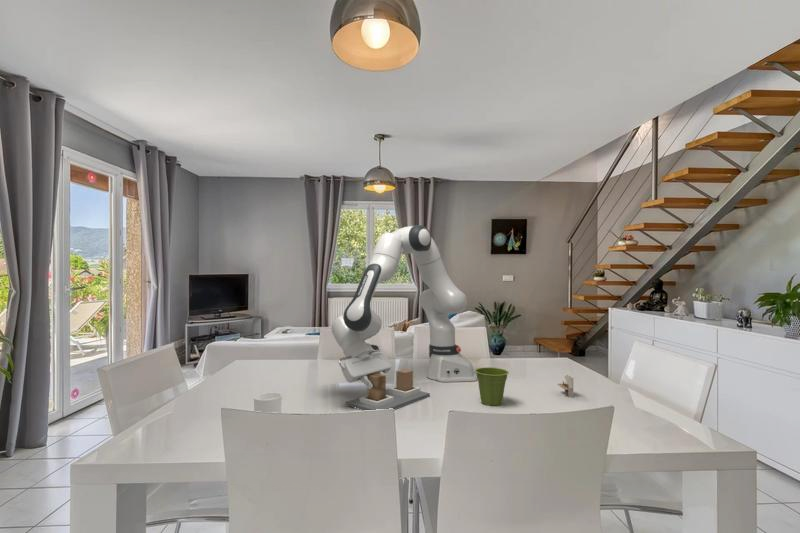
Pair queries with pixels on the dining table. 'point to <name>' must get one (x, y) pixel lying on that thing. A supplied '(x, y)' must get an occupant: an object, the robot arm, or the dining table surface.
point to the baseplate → (393, 394)
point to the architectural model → (568, 386)
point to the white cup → (268, 402)
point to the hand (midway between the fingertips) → (378, 386)
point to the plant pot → (491, 384)
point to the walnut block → (377, 387)
